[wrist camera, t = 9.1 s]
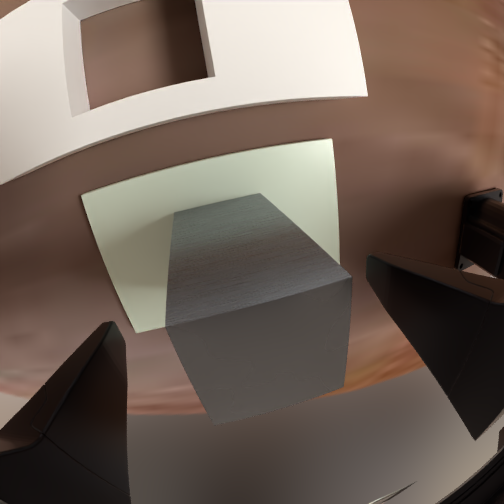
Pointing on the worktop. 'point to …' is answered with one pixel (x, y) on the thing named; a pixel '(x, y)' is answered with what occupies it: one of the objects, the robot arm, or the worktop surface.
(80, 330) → the worktop surface
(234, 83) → the cream window plate
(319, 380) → the grey rectangular block
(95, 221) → the green pad
